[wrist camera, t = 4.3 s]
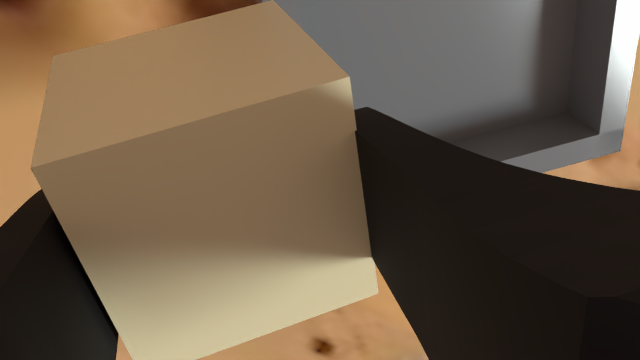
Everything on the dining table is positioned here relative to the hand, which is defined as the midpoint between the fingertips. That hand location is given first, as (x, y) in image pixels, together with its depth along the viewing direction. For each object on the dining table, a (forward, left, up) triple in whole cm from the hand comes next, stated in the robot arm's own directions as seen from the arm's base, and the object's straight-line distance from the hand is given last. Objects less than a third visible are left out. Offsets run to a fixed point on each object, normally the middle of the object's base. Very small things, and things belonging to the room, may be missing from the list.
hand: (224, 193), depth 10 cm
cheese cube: (0, 0, -3) cm, 3 cm away
